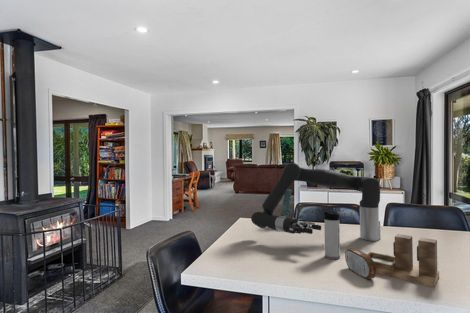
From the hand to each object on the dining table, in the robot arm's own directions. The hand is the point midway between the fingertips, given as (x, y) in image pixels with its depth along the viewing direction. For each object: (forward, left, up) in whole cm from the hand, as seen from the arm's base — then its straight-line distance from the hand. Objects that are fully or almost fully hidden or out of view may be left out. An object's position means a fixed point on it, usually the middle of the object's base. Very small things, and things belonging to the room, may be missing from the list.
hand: (316, 229), depth 128 cm
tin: (-2, +25, -11) cm, 27 cm away
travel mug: (-3, +6, -11) cm, 13 cm away
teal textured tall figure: (-10, -52, -11) cm, 54 cm away
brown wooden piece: (-17, +29, -11) cm, 35 cm away
